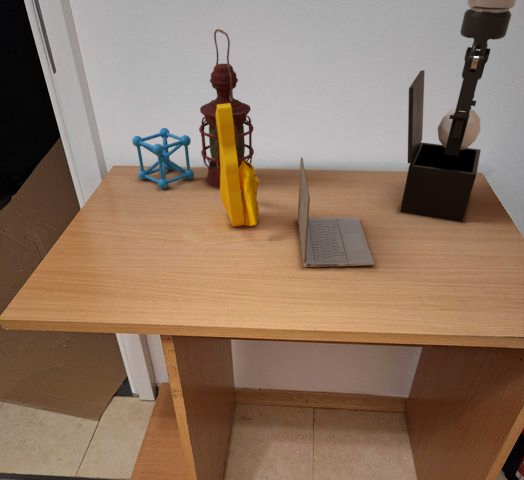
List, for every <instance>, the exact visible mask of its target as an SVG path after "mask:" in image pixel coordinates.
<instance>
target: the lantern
mask: <svg viewBox="0 0 524 480" xmlns="http://www.w3.org/2000/svg"><path fill="white" fill-rule="evenodd" d="M217 32H218V33H221V34H222V35H225V37H226V40H227V51H226V52H227V53H226V63H219V49H218V44H217V36H216V35H217ZM213 39H214V44H215V45H214V46H215V51H216V52H215V53H216V63H215V65H214V67H213V71H212V72H211V73H210V79H209V83H210V84H211V86H212V89H214V90H216V98H215V99H212V100H211V101H210V102H208V103H205V104H203V105H202V106H200V108H199V111H200V114H202V116H203V117H202V119H201V124H200V126H199V128H198V131H199V133H200V136H201V146H202V149H201V151H200V155H201V156H202V161H203V164H204V165H205V166H206V168H207V177H206V182H207V184H208V185H210V186H212V188H217V189H220V149H219V139H218V131H217V123H216V109H217V105H218V104H227V103H230V104H231V107H232V115H233V123H234V135H235V145H236V153H237V160H238V168H239V167H240V165H241V164H242V161H244V160H246V161H248V162H249V163H250V164H252V162H253V156H254V154H255V150H254V148H253V147H252V143H253V142H252V141H253V140H252V138H253V137H252V134H253V131H254V129H255V128H254V126H253V124H252V119H251V117H250V116H249V115H248V114H249V113H250V112H251V109H252V108H251V106H250V105H249V104H247V103H245V102H242V101H240V100H239V99H235V98H234V91H233V90H234V89H235V88H236V87H237V83H238V82H239V78H237V73H236V71H234V67H233V66H232V64H230V59H229V58H230V46H231V42H230V37H229V35H228V33H227V32H226V31H224V30H222V29H220V28H216V29H215V30H214V33H213ZM244 125H246V126H248V131H246V132H245V126H244ZM207 126H208V132H205V127H207ZM246 136H248V144H246V143H245V137H246ZM206 137H208V139H209V141H208V142H209V145H206ZM246 148H247V149H248V155H245V152H246V151H245V149H246ZM207 150H209V152H210V156H208V155H207ZM206 160H207V161H206ZM207 162H208V163H207Z"/></svg>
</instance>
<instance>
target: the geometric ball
mask: <svg viewBox="0 0 524 480" xmlns="http://www.w3.org/2000/svg"><path fill="white" fill-rule="evenodd" d="M455 110H456V107H455V108H451V109H450V110H449V111H448V112H447V113H446V114H445V115H443V117H442V119H441V120H440V122H439V124H438V126H437V136H438V140H439V143H440V145H443V147H445V148H446V145H447V141H448V137H449V132H450V128H451V124H452V120H453V119H449V118H450V115H454V113H455ZM460 112H465V111H460ZM480 132H481V118H480V117H479V115H478V114H477V112H476V111H475V109H472V108H471V109H470V112H469V119H468V123H467V126H466V130H465V134H464V138H463V141H462V145H461V149H460V150H463V149H466V148H470V146H472V145H473V143H475V142H476V140H477V138H478V136H479V134H480Z"/></svg>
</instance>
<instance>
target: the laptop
mask: <svg viewBox="0 0 524 480" xmlns="http://www.w3.org/2000/svg"><path fill="white" fill-rule="evenodd" d="M299 163H300V164H299V166H300V167H299V182H298V183H299V184H298V186H299V187H298V205H297V224H298V230H299V239H300V245H301V254H302V260H303V261H302V262H303V267H305V268H321V267H325V268H327V267H353V266H374V265H375V262H374V259H373V256H372V254H371V250H370V247H369V245H368V242H367V239H366V235H365V233H364V230H363V227H362V223H361V221H360V218H359V217H358V216H355V217H353V216H352V217H350V216H349V217H346V216H345V217H344V216H343V217H342V216H341V217H335V216H333V217H310V202H311V201H310V200H311V197H310V192H309V191H310V190H309V185H308V180H307V175H306V169H305V163H304V158H303V157H302V156H301V157H300V162H299Z"/></svg>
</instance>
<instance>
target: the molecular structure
mask: <svg viewBox="0 0 524 480" xmlns="http://www.w3.org/2000/svg"><path fill="white" fill-rule="evenodd" d="M160 137H161V138H162V144H161V143H155V144H154V145H152V144H150V143H147V141H150V140H153V139H156V138H160ZM168 138H172V139H174V140H177V141H174V142H171V143H169V144H168ZM131 139H132V140H131V143H132V145H133V146H135V147H136V150H137V155H138V156H137V157H138V161H139V167H140V170H139V171H138V173H137V175H138V178H139V179H140V180H142V181H146V180H150V181H152V182H154V183H156V184H157V185H158V188H159V189H161V190H166V189H168V187H169V185H170V184H171V183H174V182H177V181H180V180H183V179H186V180H192V179H194V177H195V172H194V171H193V170H192V169H191V165H190V156H189V146H190V145H191V142H192V141H191V140H192V139H191V137H190V136H189V135H187V134H184V135H182V136H178V135H175V134H173V133H170V130H169V129H168V128H166V127H162V128H160V130H159V132H158V133H155V134H152V135H148V136H145V137H141V136H140V135H134V136H133V138H131ZM141 147H143V148H144V149H145V150H147V151H149V152H150V153H152V154H154V155H155V156H157V161H156V162H155V163H153V164H152V165H151V166H150V167H148V168H147V169H146V170H145V169H144V167H145V166H144V161H143V157H142V150H141ZM181 147H184V154H185V155H184V156H185V163H186V169H185V168H183V167H182V166H180V165H178V164H177V163H175V162H174V161H172V160H171V159H170V156H171V155H173V154H174V153H175V152H176V151H178V150H179V149H180V148H181ZM170 148H172V149H170ZM169 149H170V151H169ZM156 167H157V168H156ZM173 170H174V171H176V172H179V173H181V175H179V176H176V177H173V178H170V179H168V180H167V178H166V171H167V172H172V171H173ZM158 172H159V175H160V178H159V179H158V178H155V177H153V176H151V175H153V174H154V173H155V174H156V173H158Z"/></svg>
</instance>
